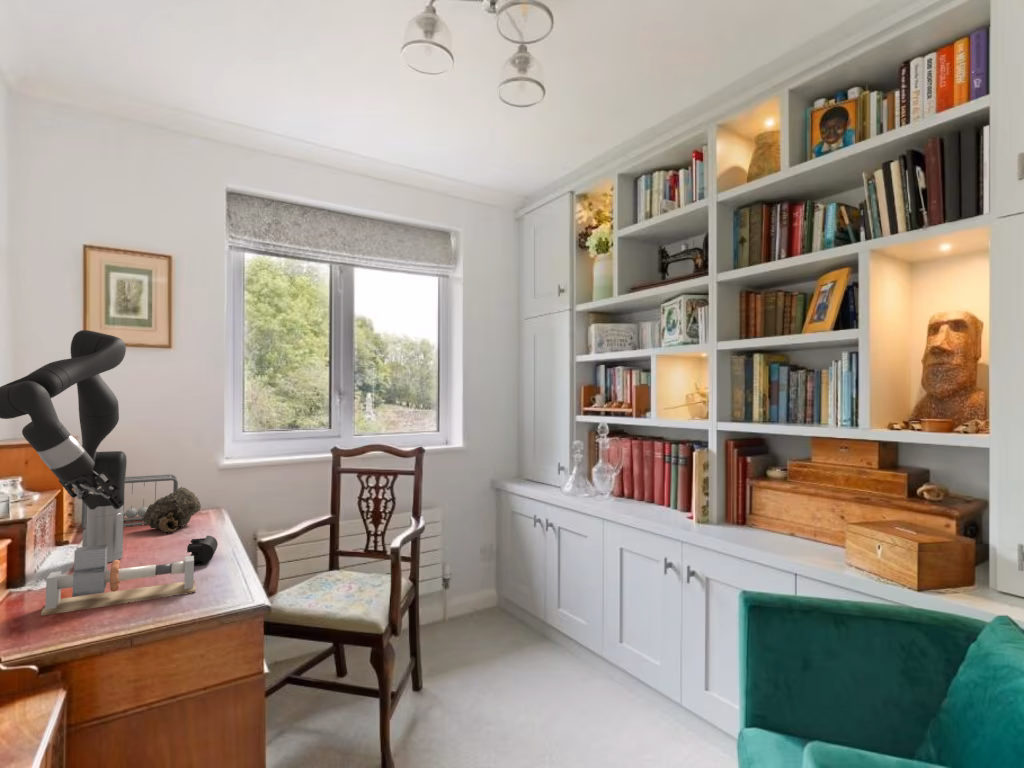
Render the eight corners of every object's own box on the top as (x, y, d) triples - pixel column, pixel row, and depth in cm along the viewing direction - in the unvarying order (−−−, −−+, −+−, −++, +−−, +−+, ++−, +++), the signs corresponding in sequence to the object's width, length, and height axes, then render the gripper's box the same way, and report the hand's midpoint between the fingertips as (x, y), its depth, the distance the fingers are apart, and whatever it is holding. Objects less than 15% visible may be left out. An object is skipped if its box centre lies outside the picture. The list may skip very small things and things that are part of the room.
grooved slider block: (72, 597, 130) (73, 552, 130) (76, 589, 135) (77, 546, 136) (103, 592, 133) (104, 549, 134) (106, 585, 139) (107, 543, 139)
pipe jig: (45, 612, 128) (46, 578, 128) (49, 605, 132) (50, 572, 133) (193, 591, 144) (193, 560, 144) (192, 585, 148) (193, 555, 148)
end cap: (213, 565, 165) (214, 542, 165) (186, 567, 163) (187, 544, 163) (217, 555, 174) (218, 534, 175) (191, 557, 172) (192, 536, 172)
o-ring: (109, 595, 133) (110, 565, 134) (112, 585, 140) (113, 557, 140) (117, 594, 134) (118, 564, 134) (120, 584, 140) (121, 556, 141)
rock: (178, 480, 215) (182, 478, 203) (206, 505, 219) (211, 505, 207) (135, 516, 205) (136, 516, 193) (165, 541, 209) (168, 544, 197)
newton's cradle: (81, 531, 200) (82, 483, 200) (83, 525, 209) (85, 479, 209) (176, 522, 217) (178, 477, 217) (175, 516, 225) (176, 473, 226)
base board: (41, 615, 127) (41, 612, 127) (48, 603, 133) (48, 600, 133) (195, 592, 143) (195, 589, 143) (194, 583, 149) (194, 580, 149)
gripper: (100, 445, 129) (140, 495, 137) (59, 448, 133) (100, 496, 142) (73, 467, 123) (116, 518, 131) (30, 469, 127) (75, 518, 135)
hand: (107, 506), depth 136 cm, fingers open, 8 cm apart
